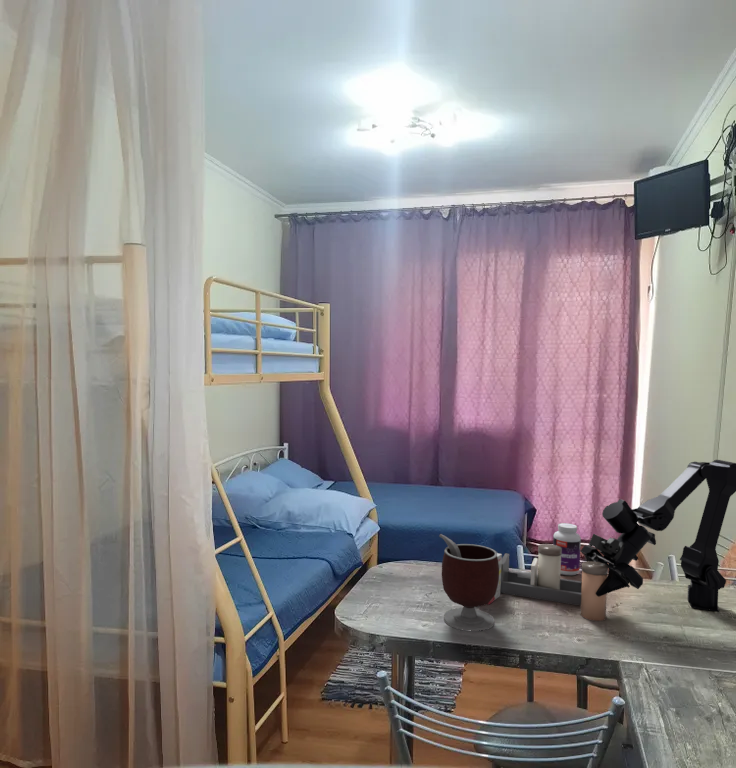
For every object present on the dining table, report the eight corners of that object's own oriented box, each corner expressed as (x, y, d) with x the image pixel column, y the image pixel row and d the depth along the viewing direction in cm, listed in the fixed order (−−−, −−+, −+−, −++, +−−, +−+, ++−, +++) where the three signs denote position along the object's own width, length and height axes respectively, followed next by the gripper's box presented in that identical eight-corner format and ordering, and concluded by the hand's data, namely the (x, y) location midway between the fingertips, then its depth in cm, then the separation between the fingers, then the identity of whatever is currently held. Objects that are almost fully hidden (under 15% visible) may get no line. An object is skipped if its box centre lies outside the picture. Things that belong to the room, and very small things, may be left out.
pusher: (537, 586, 174) (538, 558, 174) (533, 594, 168) (534, 566, 167) (519, 583, 176) (520, 555, 176) (515, 591, 170) (516, 563, 169)
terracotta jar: (606, 613, 157) (608, 563, 156) (606, 622, 151) (607, 570, 151) (580, 609, 159) (582, 559, 159) (579, 618, 153) (581, 567, 153)
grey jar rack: (595, 594, 170) (596, 565, 170) (594, 607, 160) (595, 577, 160) (504, 580, 179) (505, 553, 179) (497, 592, 170) (498, 563, 170)
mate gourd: (506, 618, 153) (508, 538, 152) (483, 638, 141) (486, 552, 140) (450, 603, 161) (452, 528, 161) (424, 620, 150) (426, 540, 149)
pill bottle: (551, 574, 185) (553, 527, 185) (552, 566, 193) (553, 521, 193) (580, 577, 183) (581, 530, 183) (579, 569, 191) (580, 523, 190)
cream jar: (561, 591, 171) (562, 545, 171) (559, 599, 166) (560, 551, 165) (538, 588, 174) (539, 542, 173) (535, 595, 168) (537, 548, 168)
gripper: (587, 514, 164) (549, 558, 162) (634, 534, 146) (592, 583, 144) (612, 542, 166) (575, 585, 164) (661, 564, 148) (620, 613, 146)
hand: (589, 590), depth 154 cm, fingers closed on terracotta jar, 6 cm apart
